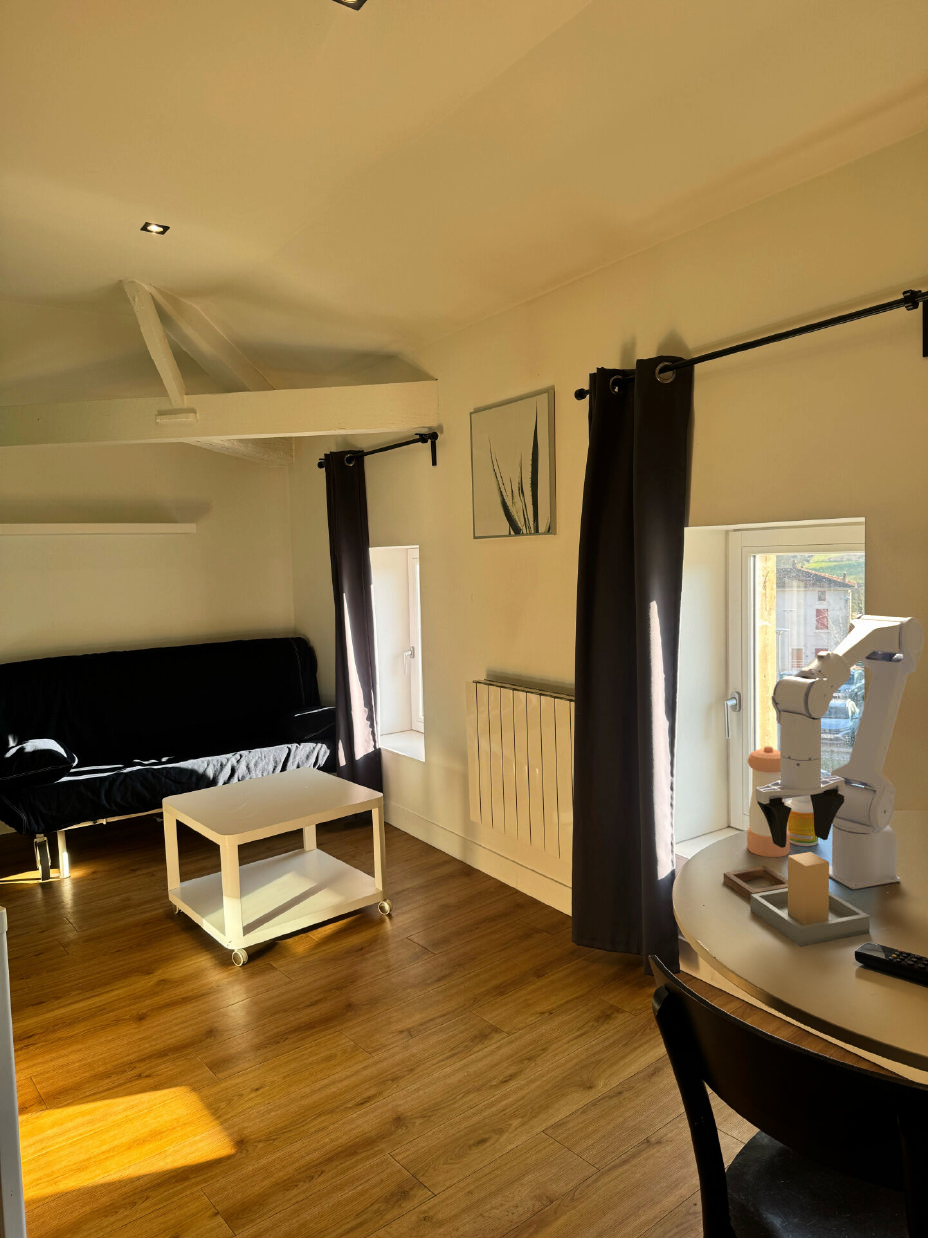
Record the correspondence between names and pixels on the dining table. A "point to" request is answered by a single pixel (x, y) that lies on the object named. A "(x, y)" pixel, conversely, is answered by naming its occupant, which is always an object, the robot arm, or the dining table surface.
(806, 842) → the supplement bottle
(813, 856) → the tan rectangular block
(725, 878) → the socket collar
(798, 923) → the tray
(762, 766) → the salt shaker
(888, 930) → the dining table surface
